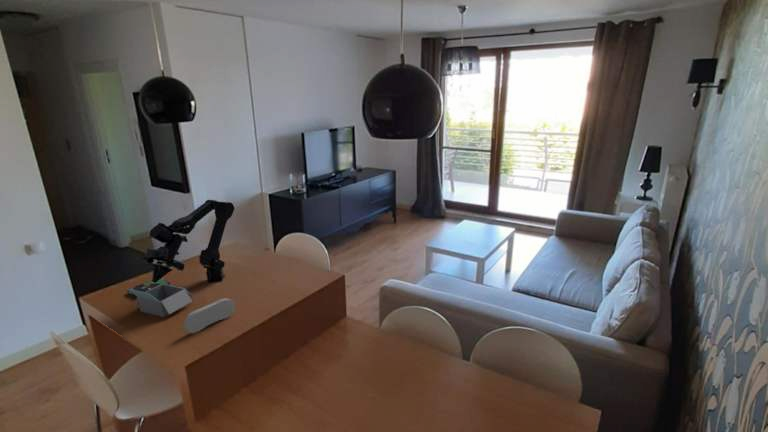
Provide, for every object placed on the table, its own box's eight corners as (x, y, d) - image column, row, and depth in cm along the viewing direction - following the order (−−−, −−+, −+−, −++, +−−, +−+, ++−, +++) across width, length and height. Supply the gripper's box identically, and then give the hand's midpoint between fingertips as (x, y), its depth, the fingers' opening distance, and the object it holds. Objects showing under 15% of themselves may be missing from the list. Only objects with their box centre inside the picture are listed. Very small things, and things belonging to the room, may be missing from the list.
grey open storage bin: (167, 293, 177) (164, 279, 175) (200, 301, 169) (197, 286, 167) (135, 310, 164) (131, 295, 161) (169, 319, 155) (165, 303, 153)
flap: (127, 288, 156) (126, 289, 156) (148, 293, 151) (148, 294, 150) (138, 295, 160) (137, 296, 160) (159, 300, 155) (158, 301, 155)
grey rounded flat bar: (233, 312, 158) (230, 294, 156) (236, 314, 157) (233, 295, 155) (185, 335, 144) (180, 315, 142) (188, 337, 143) (183, 317, 140)
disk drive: (137, 301, 173) (171, 287, 184) (135, 295, 172) (170, 282, 183) (128, 294, 179) (161, 281, 190) (126, 289, 178) (160, 276, 189)
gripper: (140, 237, 162) (121, 272, 156) (172, 242, 155) (153, 279, 149) (162, 247, 172) (144, 281, 165) (192, 252, 164) (175, 288, 158)
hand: (153, 282), depth 159 cm, fingers closed
